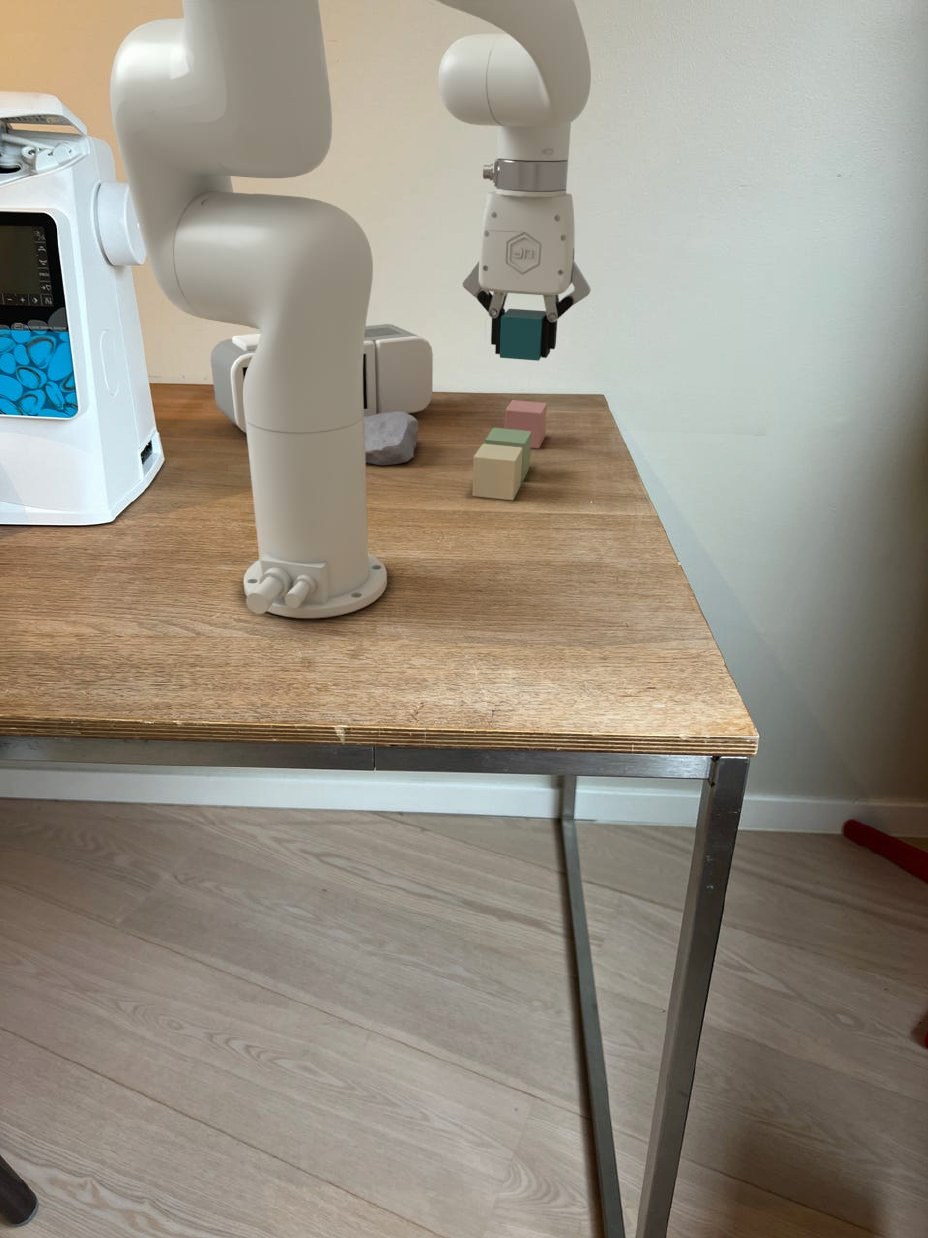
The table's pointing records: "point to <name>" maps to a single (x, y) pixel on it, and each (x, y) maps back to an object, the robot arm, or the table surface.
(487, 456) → the cream block
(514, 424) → the rose block
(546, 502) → the table surface
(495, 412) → the table surface
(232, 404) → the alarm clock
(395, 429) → the stone block
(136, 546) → the table surface
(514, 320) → the teal block
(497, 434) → the sage block
